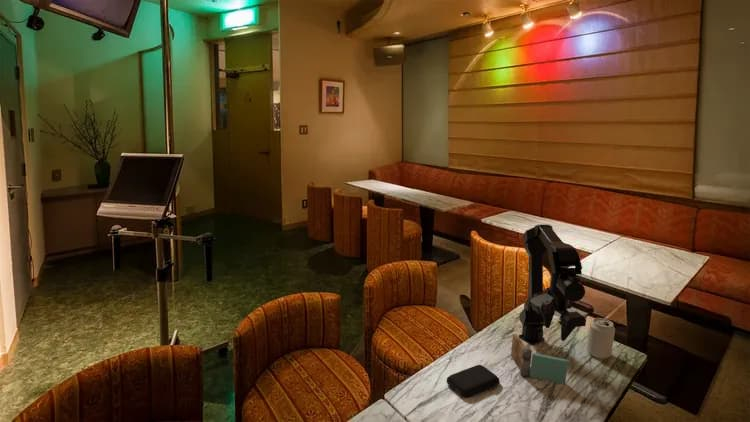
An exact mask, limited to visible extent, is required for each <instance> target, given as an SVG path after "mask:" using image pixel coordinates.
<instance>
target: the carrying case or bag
mask: <svg viewBox="0 0 750 422" xmlns="http://www.w3.org/2000/svg"><path fill="white" fill-rule="evenodd" d="M446 384H448V385H449V387H451V388H452V389H453V390H455V392H457V393H458V394H459V395H460V396H461V397H463V398H471V397H473V396H475V395H478V394H481V393H483V392H485V391H488V390H490V389H492V390H495V389H496V388H498V386H500V378H499V377H498V376H497V375H496V374H495V373H494V372H492V371H491V370H489V369H488V368H487V367H485V366H484V365H482V364H477V365H474V366H470V367H468V368H466V369H463V370H460V371H458V372H455V373H452V374H451V375H449V376H448V377H447V378H446Z"/></svg>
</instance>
